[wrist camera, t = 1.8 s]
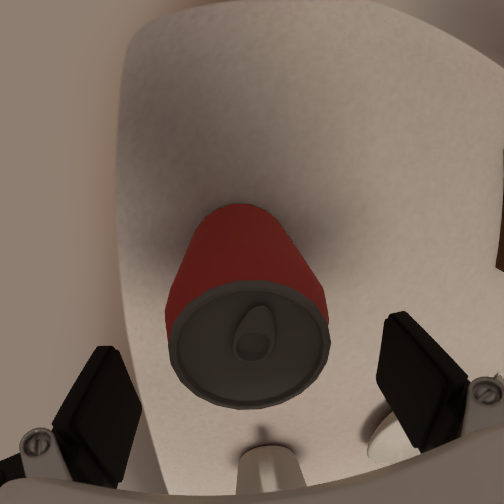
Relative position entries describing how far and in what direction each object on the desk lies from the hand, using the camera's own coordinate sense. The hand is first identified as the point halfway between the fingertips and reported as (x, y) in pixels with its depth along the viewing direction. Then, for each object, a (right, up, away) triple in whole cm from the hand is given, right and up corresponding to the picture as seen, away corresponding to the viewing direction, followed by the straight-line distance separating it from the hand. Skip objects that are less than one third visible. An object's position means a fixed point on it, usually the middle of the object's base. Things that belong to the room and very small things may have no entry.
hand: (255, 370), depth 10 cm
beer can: (-1, +4, +12) cm, 12 cm away
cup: (+1, -18, +19) cm, 27 cm away
